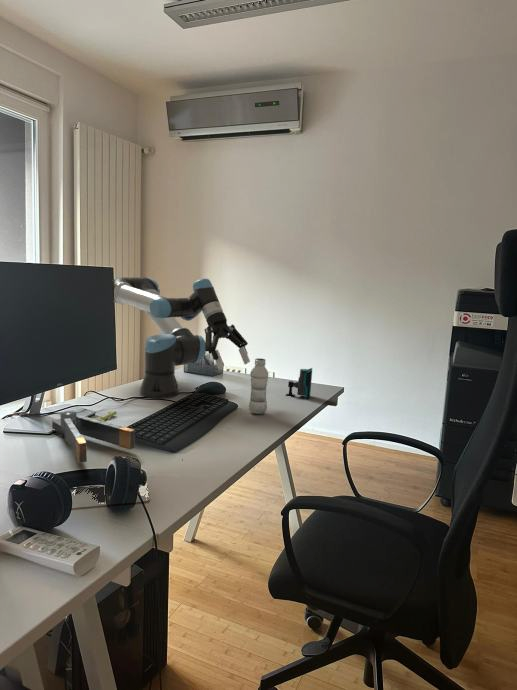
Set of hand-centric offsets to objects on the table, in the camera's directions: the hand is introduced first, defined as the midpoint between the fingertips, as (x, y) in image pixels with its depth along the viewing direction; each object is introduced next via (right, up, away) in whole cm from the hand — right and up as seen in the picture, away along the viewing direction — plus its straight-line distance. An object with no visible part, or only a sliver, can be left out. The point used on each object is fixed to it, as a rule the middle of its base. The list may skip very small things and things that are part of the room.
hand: (234, 365), depth 179 cm
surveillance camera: (+25, -14, +19) cm, 35 cm away
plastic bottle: (+9, -17, -6) cm, 20 cm away
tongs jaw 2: (-35, -20, -43) cm, 59 cm away
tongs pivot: (-50, -19, -35) cm, 64 cm away
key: (-43, -18, -23) cm, 52 cm away
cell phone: (-25, -27, -71) cm, 80 cm away
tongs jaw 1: (-41, -21, -49) cm, 67 cm away
